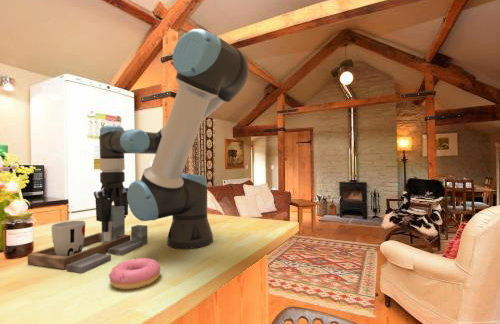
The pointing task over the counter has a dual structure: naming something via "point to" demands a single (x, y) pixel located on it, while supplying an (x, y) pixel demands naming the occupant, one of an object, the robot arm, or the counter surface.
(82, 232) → the cup
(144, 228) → the broken strip
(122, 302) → the counter surface
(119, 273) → the doughnut
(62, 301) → the counter surface
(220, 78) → the robot arm
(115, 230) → the wooden serving tray
